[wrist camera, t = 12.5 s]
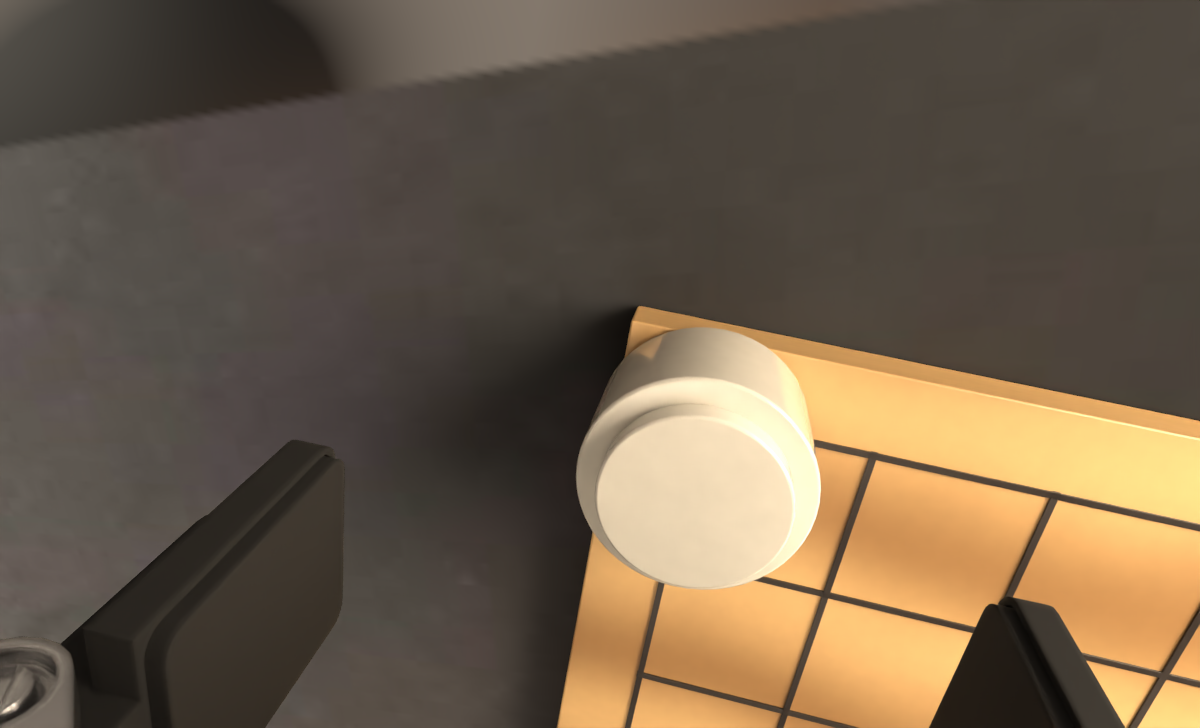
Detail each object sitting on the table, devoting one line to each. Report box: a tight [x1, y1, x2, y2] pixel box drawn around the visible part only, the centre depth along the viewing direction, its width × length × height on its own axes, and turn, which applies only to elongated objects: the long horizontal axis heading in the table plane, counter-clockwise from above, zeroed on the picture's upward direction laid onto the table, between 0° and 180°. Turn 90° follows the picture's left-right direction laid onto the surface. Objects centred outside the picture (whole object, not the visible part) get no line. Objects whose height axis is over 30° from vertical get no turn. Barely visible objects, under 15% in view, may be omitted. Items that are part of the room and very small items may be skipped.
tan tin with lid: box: [576, 327, 821, 590], centre depth 16 cm, size 5×5×4 cm
